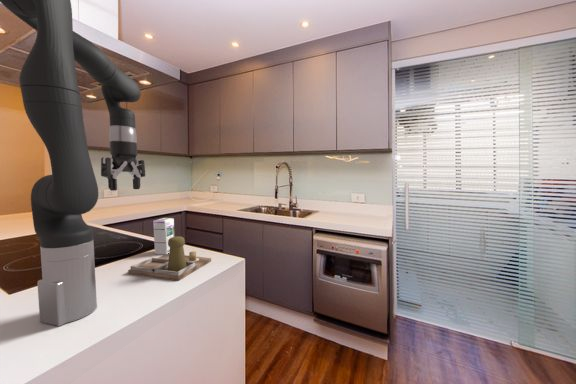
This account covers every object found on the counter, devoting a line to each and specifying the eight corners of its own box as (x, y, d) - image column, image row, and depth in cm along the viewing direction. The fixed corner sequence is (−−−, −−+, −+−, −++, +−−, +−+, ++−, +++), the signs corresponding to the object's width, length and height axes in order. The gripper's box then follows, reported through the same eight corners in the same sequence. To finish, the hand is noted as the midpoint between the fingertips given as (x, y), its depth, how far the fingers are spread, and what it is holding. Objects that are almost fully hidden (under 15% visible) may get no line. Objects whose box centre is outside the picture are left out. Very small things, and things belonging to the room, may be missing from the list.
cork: (181, 264, 87) (181, 233, 86) (190, 268, 83) (189, 236, 82) (164, 268, 82) (163, 237, 81) (172, 273, 78) (171, 240, 77)
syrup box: (166, 254, 100) (165, 220, 99) (154, 254, 101) (152, 219, 100) (175, 250, 106) (174, 218, 105) (163, 250, 107) (162, 217, 106)
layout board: (178, 280, 76) (178, 267, 76) (128, 273, 81) (127, 261, 81) (211, 261, 93) (210, 250, 93) (167, 256, 98) (167, 246, 98)
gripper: (111, 137, 73) (114, 191, 74) (150, 143, 86) (151, 188, 87) (92, 138, 75) (95, 190, 76) (133, 144, 88) (135, 188, 89)
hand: (125, 189), depth 82 cm, fingers open, 8 cm apart
